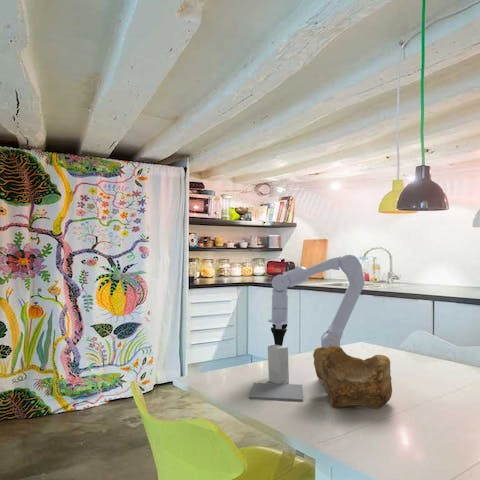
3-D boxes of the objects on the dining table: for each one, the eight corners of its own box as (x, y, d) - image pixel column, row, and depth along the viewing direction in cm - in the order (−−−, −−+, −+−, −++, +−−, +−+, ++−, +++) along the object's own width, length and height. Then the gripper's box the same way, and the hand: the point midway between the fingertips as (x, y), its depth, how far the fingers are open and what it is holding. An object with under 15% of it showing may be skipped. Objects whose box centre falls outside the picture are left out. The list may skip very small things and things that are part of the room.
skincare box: (289, 383, 137) (289, 346, 138) (280, 385, 134) (280, 348, 135) (276, 378, 142) (276, 343, 143) (267, 381, 139) (267, 345, 140)
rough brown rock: (300, 408, 117) (300, 356, 116) (316, 386, 132) (316, 341, 131) (386, 426, 106) (387, 370, 106) (393, 401, 121) (393, 351, 121)
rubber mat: (302, 386, 134) (302, 384, 134) (303, 401, 120) (303, 399, 120) (253, 384, 136) (253, 382, 136) (249, 398, 122) (249, 396, 122)
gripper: (269, 305, 155) (269, 341, 154) (267, 310, 141) (266, 349, 140) (288, 305, 154) (287, 342, 153) (287, 310, 140) (287, 350, 139)
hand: (278, 345), depth 147 cm, fingers open, 7 cm apart
